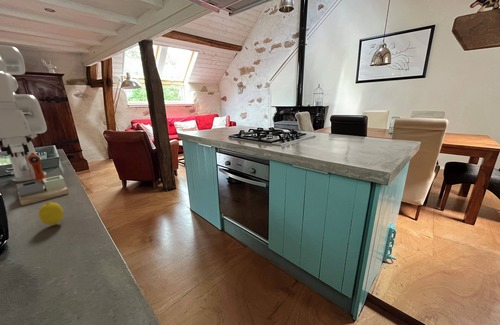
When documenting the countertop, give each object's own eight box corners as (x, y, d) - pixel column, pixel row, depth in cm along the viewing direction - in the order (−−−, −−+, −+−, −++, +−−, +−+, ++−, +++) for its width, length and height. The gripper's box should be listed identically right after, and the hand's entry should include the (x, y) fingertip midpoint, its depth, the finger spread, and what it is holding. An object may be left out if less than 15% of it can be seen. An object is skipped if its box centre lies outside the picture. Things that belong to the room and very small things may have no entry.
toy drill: (35, 188, 93) (24, 155, 90) (35, 183, 106) (25, 153, 103) (50, 185, 96) (39, 152, 93) (48, 180, 110) (39, 151, 107)
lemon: (69, 218, 71) (62, 197, 69) (62, 227, 66) (54, 204, 64) (48, 222, 69) (41, 200, 67) (39, 231, 64) (31, 208, 62)
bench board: (19, 195, 90) (17, 191, 89) (62, 185, 100) (61, 181, 99) (21, 205, 81) (19, 201, 80) (68, 193, 91) (67, 189, 90)
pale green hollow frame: (45, 187, 93) (42, 179, 91) (63, 183, 97) (61, 175, 96) (47, 191, 89) (44, 182, 87) (66, 186, 93) (63, 178, 92)
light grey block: (18, 169, 86) (9, 145, 83) (29, 167, 88) (21, 143, 85) (19, 173, 82) (10, 147, 79) (31, 170, 84) (22, 146, 81)
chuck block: (19, 193, 87) (16, 184, 86) (42, 187, 92) (40, 179, 91) (20, 198, 83) (17, 188, 82) (44, 192, 88) (42, 183, 87)
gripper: (32, 105, 86) (46, 150, 91) (-33, 107, 74) (-13, 158, 80) (34, 106, 81) (49, 152, 87) (-35, 108, 70) (-14, 162, 75)
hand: (19, 155), depth 83 cm, fingers closed on light grey block, 3 cm apart
